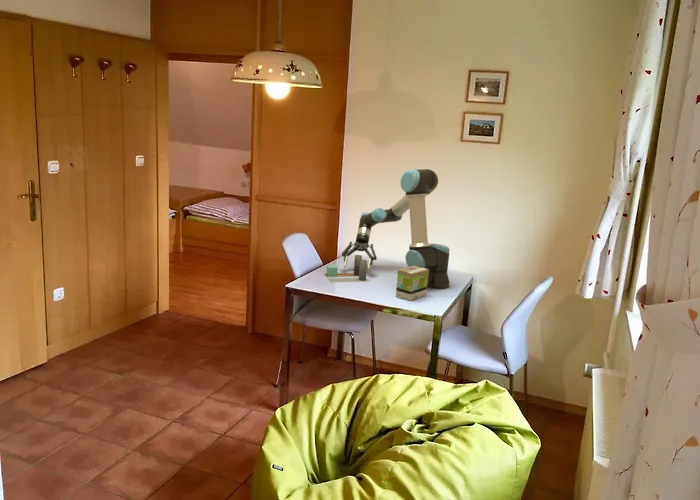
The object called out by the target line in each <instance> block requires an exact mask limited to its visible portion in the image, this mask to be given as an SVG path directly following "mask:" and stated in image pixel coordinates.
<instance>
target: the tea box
mask: <svg viewBox="0 0 700 500" xmlns="http://www.w3.org/2000/svg"><path fill="white" fill-rule="evenodd" d="M428 275H429V269H425V268H422V267H418V266H411V267H408V266H407V267H405V268H404V267H403V268H400V269H398V270H397V278H396V287H395V289H396V290H395V297H396V298H400V299H403V300H406V301H410V302H412V301H414V300H416V299H419V298H422V297H425V296H427V292H428V287H427V283H428Z"/></svg>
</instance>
